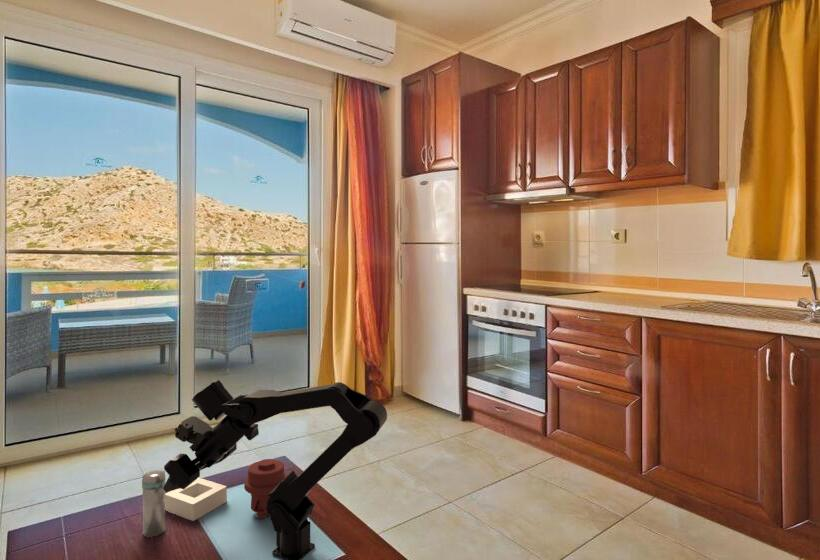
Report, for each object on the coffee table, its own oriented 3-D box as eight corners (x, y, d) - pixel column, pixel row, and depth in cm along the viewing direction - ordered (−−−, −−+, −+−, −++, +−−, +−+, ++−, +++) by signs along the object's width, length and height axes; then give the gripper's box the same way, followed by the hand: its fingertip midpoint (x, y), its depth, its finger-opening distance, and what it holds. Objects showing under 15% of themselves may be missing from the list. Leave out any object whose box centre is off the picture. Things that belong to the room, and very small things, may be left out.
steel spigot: (170, 529, 109) (169, 472, 109) (151, 539, 105) (151, 481, 104) (156, 523, 111) (156, 468, 111) (137, 534, 107) (137, 476, 106)
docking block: (226, 501, 122) (226, 486, 121) (193, 521, 113) (193, 504, 112) (198, 492, 126) (198, 477, 126) (164, 510, 117) (164, 494, 117)
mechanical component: (294, 504, 121) (275, 525, 111) (257, 499, 123) (235, 520, 113) (294, 456, 121) (275, 473, 111) (257, 452, 123) (236, 468, 113)
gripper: (225, 395, 114) (182, 437, 116) (172, 421, 95) (123, 470, 98) (255, 430, 113) (212, 472, 115) (208, 464, 94) (158, 513, 97)
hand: (179, 480), depth 106 cm, fingers open, 9 cm apart
